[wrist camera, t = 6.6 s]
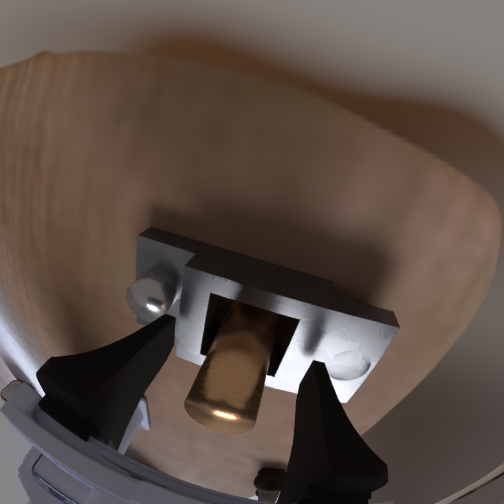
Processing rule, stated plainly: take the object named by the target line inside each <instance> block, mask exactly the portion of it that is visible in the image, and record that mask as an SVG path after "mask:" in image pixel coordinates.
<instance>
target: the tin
mask: <svg viewBox="0 0 504 504" xmlns="http://www.w3.org/2000/svg"><path fill="white" fill-rule="evenodd" d="M23 383H24V382H22V381H21V380H14V381H12V382H10V384H9V385H7V386H6V387H5V388H4V389H3V390H2V392H1V394H0V395H1V398H2V400H3V401H4V402H5V403H6V402H7V401H8V399H9V398H10V397H11V396H12V395H13V394H14V393H15V392H16V390H17V389H18V388H19V387H20V386H21V385H22V384H23ZM29 386H30V385H29Z"/></svg>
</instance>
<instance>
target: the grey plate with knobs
mask: <svg viewBox="0 0 504 504" xmlns="http://www.w3.org/2000/svg"><path fill="white" fill-rule="evenodd" d="M220 296H223V297H226V298H230V299H233V300H236V301H239V302H242V303H246V304H249V305H252V306H255V307H259V308H262V309H265V310H269V311H272V312H275V313H279V314H282V315H286V316H289V317H291V320H290V322H289V325H288V327H287V330H286V332H285V334H284V337H283V339H282V342H281V344H280V345H279V344H276V343H273V347H272V352H271V357H270V362H269V366H268V371H267V376H266V380H265V386H269V387H273V388H277V389H281V390H285V391H289V392H293V393H298V389H299V384H300V382H301V380H302V379H303V377H304V375H305V373H306V372H307V370H308V368H309V366H310V365H311V363H312V361H313V360H316V361H320V362H324V363H325V365H326V367H327V370H328V373H329V376H330V379H331V381H332V384H333V387H334V389H335V391H336V394H337V396H338V399H339V401H340V402H344V403H346V402H347V401H348V400H349V399H350V398H351V396H352V395H353V394H354V393H355V391H356V390H357V389H358V388H359V386H360V385H361V384H362V382H363V381H364V380H365V379H366V377H367V376H368V375H369V373H370V372H371V370H372V369H373V368H374V366H375V365H376V364H377V362H378V361H379V359H380V358H381V356H382V355H383V354H384V352H385V351H386V349H387V348H388V346H389V345H390V343H391V342H392V340H393V338H394V337H395V335H396V334H397V332H398V331H399V329H400V326H399V324H398V321H397V319H396V316H395V314H394V312H393V311H389V310H386V309H382V308H378V307H375V306H371V305H367V304H364V303H360V302H357V301H353V300H350V299H346V298H343V297H339V296H335V294H334V287H333V282H332V281H329V280H326V279H322V278H319V277H315V276H312V275H309V274H305V273H302V272H298V271H295V270H292V269H288V268H285V267H282V266H278V265H275V264H271V263H268V262H265V261H261V260H258V259H255V258H251V257H248V256H245V255H241V254H238V253H235V252H231V251H228V250H225V249H221V248H218V247H215V246H211V245H208V244H205V243H201V242H198V241H195V240H192V239H188V238H185V237H182V236H178V235H175V234H172V233H168V232H165V231H162V230H159V229H155V228H152V227H150V228H148V229H147V230H145V231H144V232H142V233H140V234H139V235H138V240H137V267H136V281H135V282H134V283H133V284H132V285H131V286H130V287H129V288H128V289H127V292H126V299H127V302H128V305H129V307H130V308H131V310H132V311H133V312H134V313H135V314H136V315H137V322H139V323H141V324H143V325H148V324H149V323H151V322H153V321H154V320H156V319H157V318H159V317H160V316H162V315H163V314H168V315H170V316H173V317H176V324H175V338H177V345H176V356H177V357H180V358H182V359H185V360H188V361H190V362H193V363H196V364H199V365H201V366H202V364H203V362H204V360H205V358H206V356H207V354H208V352H209V350H210V347H211V345H212V343H213V341H214V339H215V337H216V335H217V333H218V331H219V329H220V326H217V325H215V320H216V315H217V310H218V305H219V300H220Z"/></svg>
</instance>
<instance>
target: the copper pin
mask: <svg viewBox="0 0 504 504" xmlns="http://www.w3.org/2000/svg"><path fill="white" fill-rule="evenodd" d="M278 317H279V313H275V312H272V311H269V310H265V309H262V308H259V307H255V306H252V305H249V304H246V303H242V302H239V301H236V300H233V301H232V303H231V305H230V307H229V310H228V312H227V314H226V316H225V318H224V320H223V322H222V324H221V326H220V329H219V331H218V333H217V335H216V337H215V339H214V341H213V343H212V345H211V347H210V350H209V352H208V354H207V356H206V358H205V360H204V362H203V364H202V366H201V368H200V370H199V373H198V375H197V377H196V379H195V381H194V383H193V385H192V387H191V389H190V391H189V393H188V396H187V398H186V400H185V402H184V406H185V409H186V411H187V413H188V414H189V415H190V416H191V417H192V418H193V419H194V420H196V421H197V422H198V423H200V424H202V425H204V426H206V427H208V428H210V429H213V430H216V431H220V432H225V433H243V432H247V431H249V430H251V429H252V428H253V427H254V426H255V423H256V419H257V415H258V411H259V407H260V402H261V398H262V393H263V389H264V385H265V380H266V376H267V371H268V366H269V362H270V357H271V352H272V347H273V342H274V337H275V333H276V327H277V322H278Z"/></svg>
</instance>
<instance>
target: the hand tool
mask: <svg viewBox="0 0 504 504" xmlns="http://www.w3.org/2000/svg"><path fill="white" fill-rule="evenodd" d="M285 475H286V472H285V470H283V469H274V468H263V469H260V471H259V472H258V475H257V477H256V478H255V480H254V485H255V487H256V488H257V490H256V496H258V501H263V502H269V503H275V502H276V500H277V497H278V495H279V492H280V491H281V488H282V485H283V482H284V478H285Z"/></svg>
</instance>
